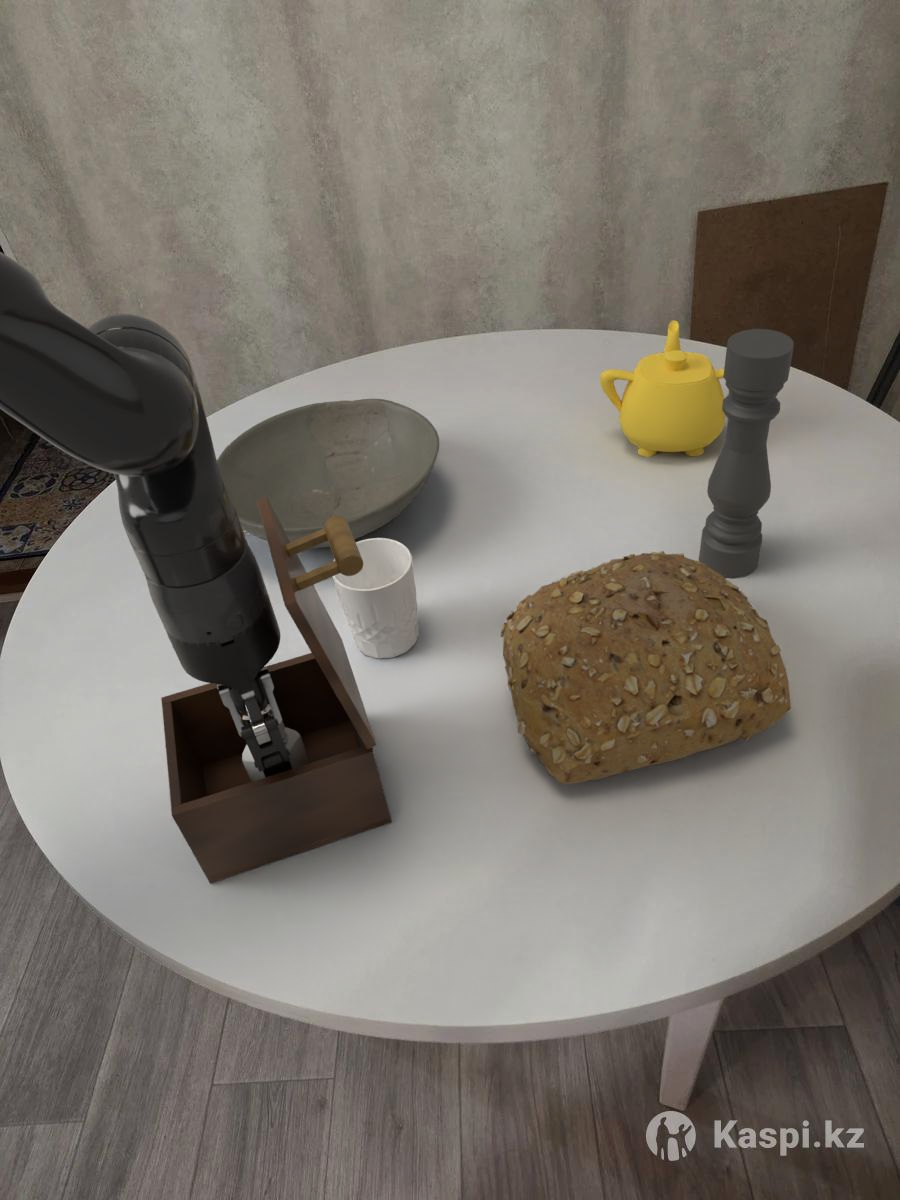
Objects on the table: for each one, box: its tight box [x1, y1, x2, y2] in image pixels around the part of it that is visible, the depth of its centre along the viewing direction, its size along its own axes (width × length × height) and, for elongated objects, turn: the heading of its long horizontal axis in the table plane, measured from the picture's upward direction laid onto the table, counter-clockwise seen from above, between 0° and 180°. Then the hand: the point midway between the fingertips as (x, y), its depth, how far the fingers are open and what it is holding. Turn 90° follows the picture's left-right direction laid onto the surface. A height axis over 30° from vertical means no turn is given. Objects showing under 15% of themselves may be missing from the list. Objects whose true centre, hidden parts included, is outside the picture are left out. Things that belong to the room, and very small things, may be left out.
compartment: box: [160, 652, 393, 884], centre depth 73 cm, size 16×13×10 cm
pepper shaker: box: [242, 704, 310, 782], centre depth 73 cm, size 4×4×10 cm
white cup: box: [332, 537, 420, 660], centre depth 87 cm, size 8×8×10 cm
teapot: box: [599, 319, 729, 458], centre depth 108 cm, size 14×14×12 cm
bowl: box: [216, 398, 440, 549], centre depth 105 cm, size 27×28×8 cm
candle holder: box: [698, 328, 795, 579], centre depth 85 cm, size 6×6×25 cm
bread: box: [500, 550, 792, 784], centre depth 77 cm, size 24×21×12 cm
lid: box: [257, 497, 377, 749], centre depth 65 cm, size 16×13×6 cm
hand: (271, 750), depth 72 cm, fingers closed on pepper shaker, 5 cm apart
